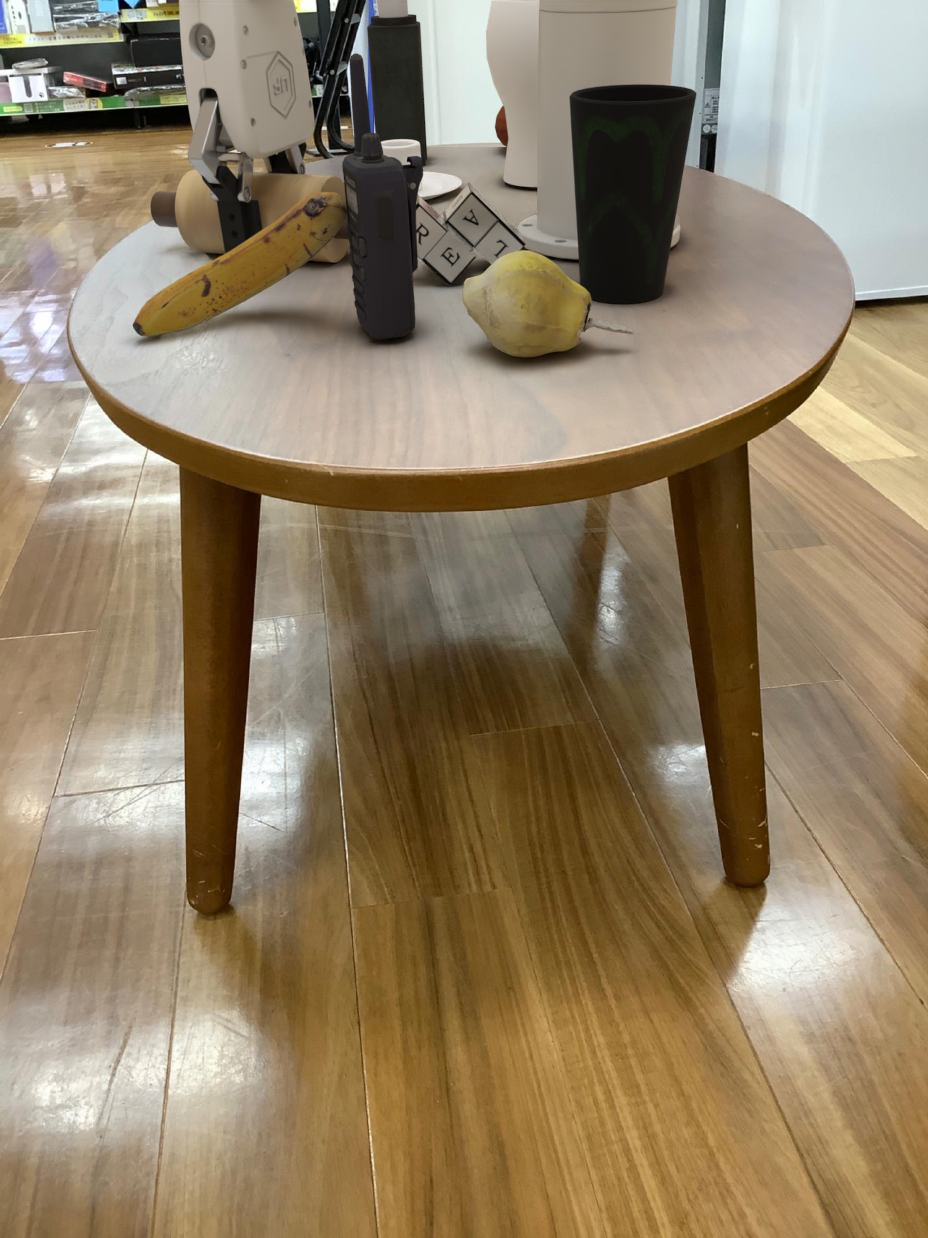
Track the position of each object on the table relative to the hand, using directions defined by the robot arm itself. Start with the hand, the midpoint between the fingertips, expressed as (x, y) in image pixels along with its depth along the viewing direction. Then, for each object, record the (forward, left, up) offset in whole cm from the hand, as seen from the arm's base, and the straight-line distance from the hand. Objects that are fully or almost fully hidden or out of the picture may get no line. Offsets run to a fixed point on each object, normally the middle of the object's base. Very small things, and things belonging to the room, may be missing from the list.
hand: (268, 241), depth 78 cm
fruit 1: (-16, +6, +4) cm, 18 cm away
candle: (+29, -22, -1) cm, 36 cm away
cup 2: (+12, -30, -1) cm, 33 cm away
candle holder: (+15, -16, -1) cm, 22 cm away
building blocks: (-12, -11, -1) cm, 16 cm away
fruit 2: (-29, -9, -1) cm, 30 cm away
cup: (-21, -19, -1) cm, 28 cm away
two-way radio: (-21, -3, -1) cm, 21 cm away
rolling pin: (0, 0, -1) cm, 1 cm away
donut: (+26, -39, +4) cm, 47 cm away
